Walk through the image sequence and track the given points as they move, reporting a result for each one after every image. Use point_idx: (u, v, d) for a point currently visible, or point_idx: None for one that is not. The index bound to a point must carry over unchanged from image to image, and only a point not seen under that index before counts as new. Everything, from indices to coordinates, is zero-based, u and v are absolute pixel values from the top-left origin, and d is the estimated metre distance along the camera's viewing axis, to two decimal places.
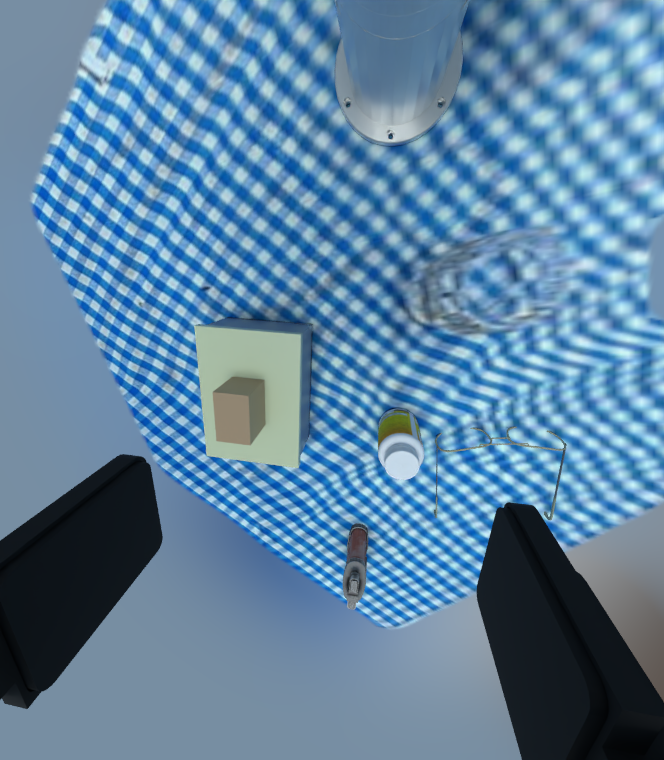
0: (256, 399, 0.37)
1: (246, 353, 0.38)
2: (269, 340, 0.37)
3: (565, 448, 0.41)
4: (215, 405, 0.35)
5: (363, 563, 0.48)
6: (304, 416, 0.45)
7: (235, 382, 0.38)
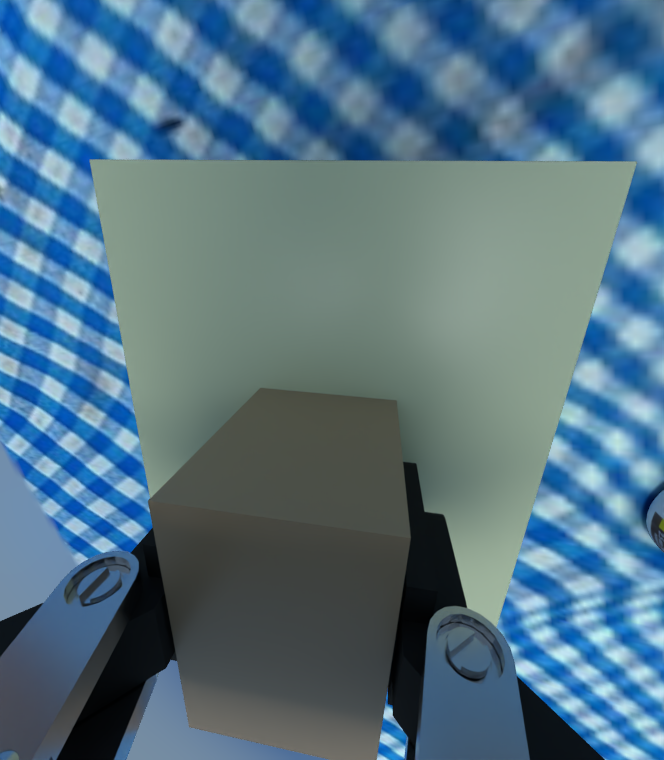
0: None
1: (326, 284, 0.09)
2: (449, 209, 0.08)
3: None
4: (174, 576, 0.06)
5: None
6: None
7: (281, 418, 0.08)
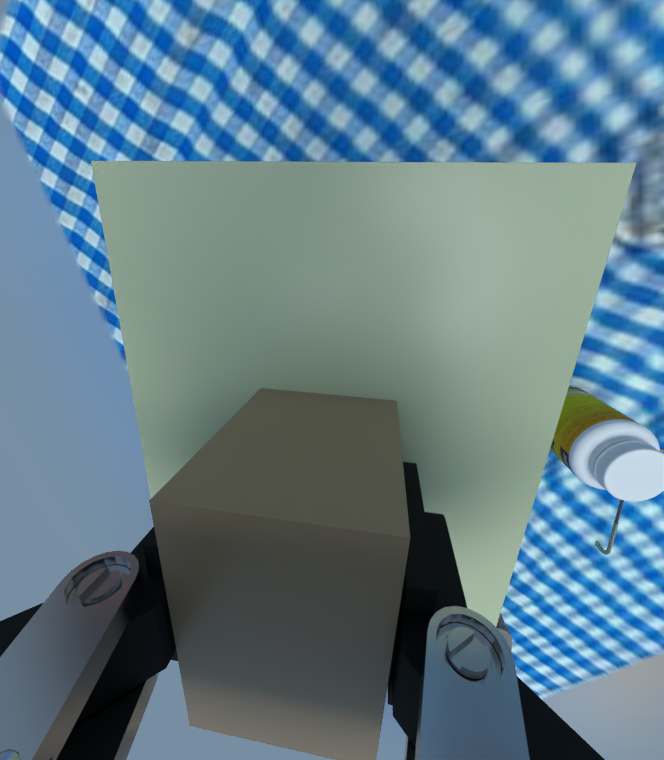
0: None
1: (326, 285, 0.09)
2: (448, 210, 0.08)
3: None
4: (175, 575, 0.06)
5: (508, 630, 0.31)
6: None
7: (282, 418, 0.08)
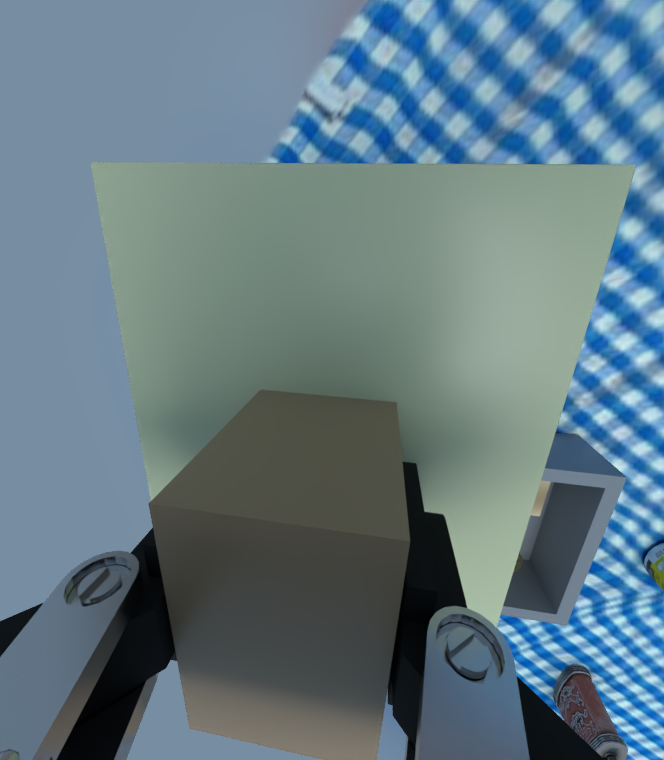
0: None
1: (326, 286, 0.09)
2: (448, 212, 0.08)
3: None
4: (174, 579, 0.06)
5: (624, 743, 0.36)
6: None
7: (282, 420, 0.08)
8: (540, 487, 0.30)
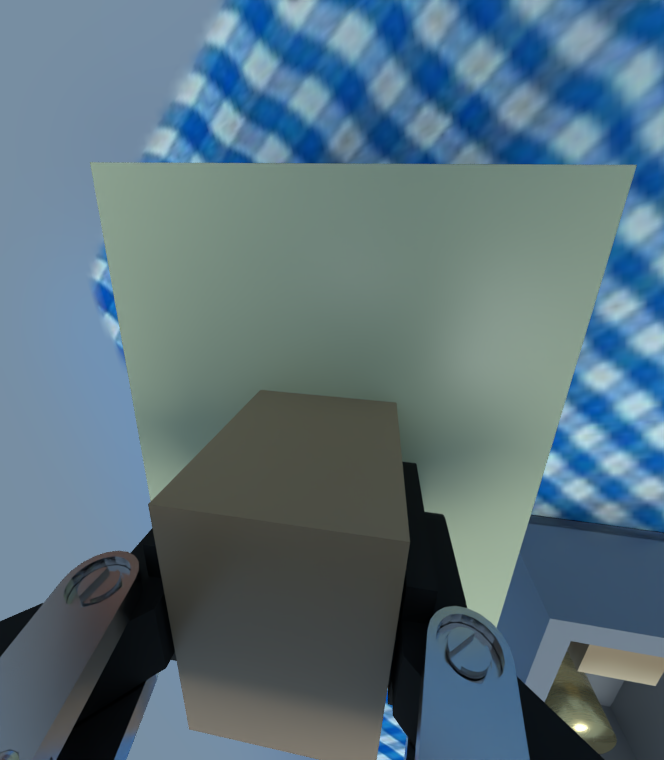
0: None
1: (326, 286, 0.09)
2: (448, 212, 0.08)
3: None
4: (174, 579, 0.06)
5: None
6: None
7: (281, 420, 0.08)
8: None
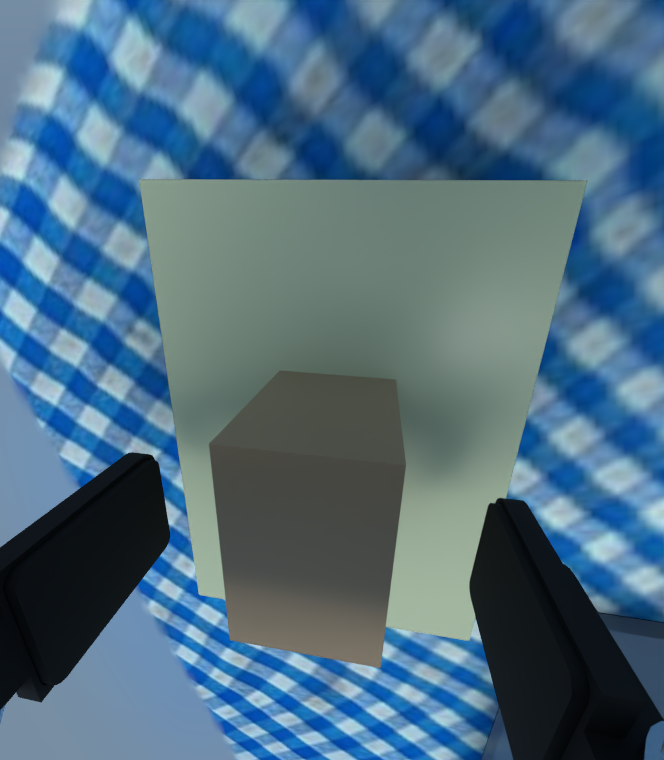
0: None
1: (336, 281, 0.10)
2: (437, 219, 0.09)
3: None
4: (225, 506, 0.07)
5: None
6: None
7: (301, 392, 0.10)
8: None
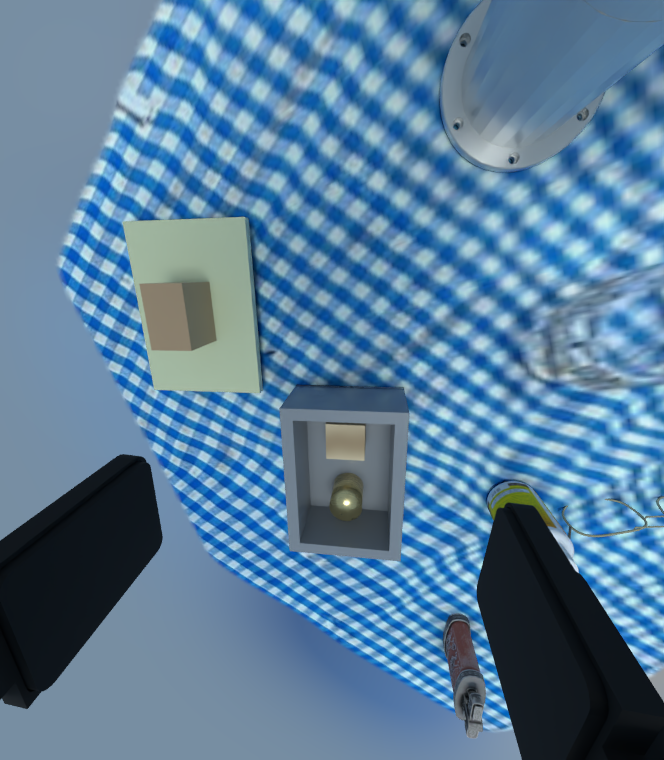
0: (196, 297, 0.31)
1: (185, 249, 0.33)
2: (209, 229, 0.32)
3: None
4: (144, 301, 0.29)
5: (482, 677, 0.38)
6: None
7: None
8: (357, 433, 0.33)
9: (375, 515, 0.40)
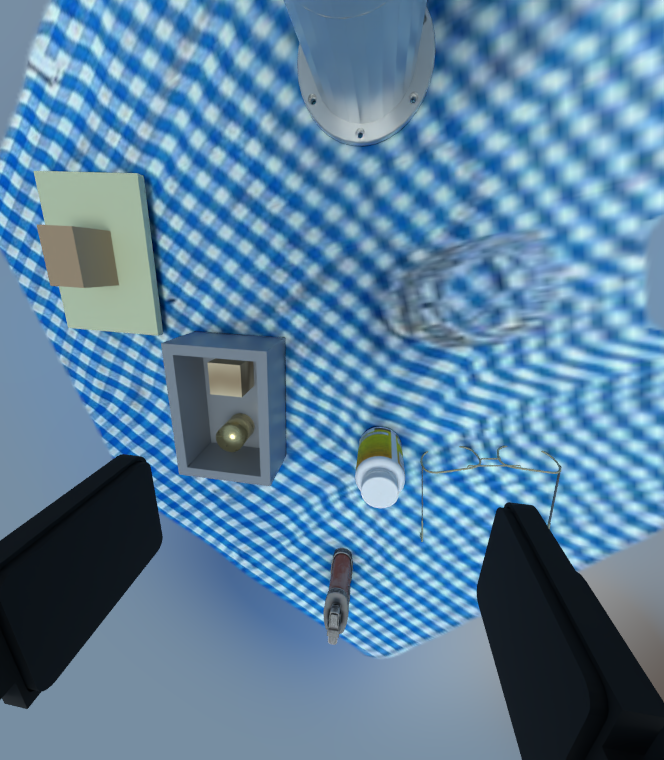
0: (92, 241, 0.35)
1: (88, 200, 0.37)
2: (108, 182, 0.36)
3: (560, 471, 0.38)
4: (42, 241, 0.34)
5: (345, 594, 0.44)
6: (278, 436, 0.42)
7: None
8: (234, 371, 0.38)
9: None
